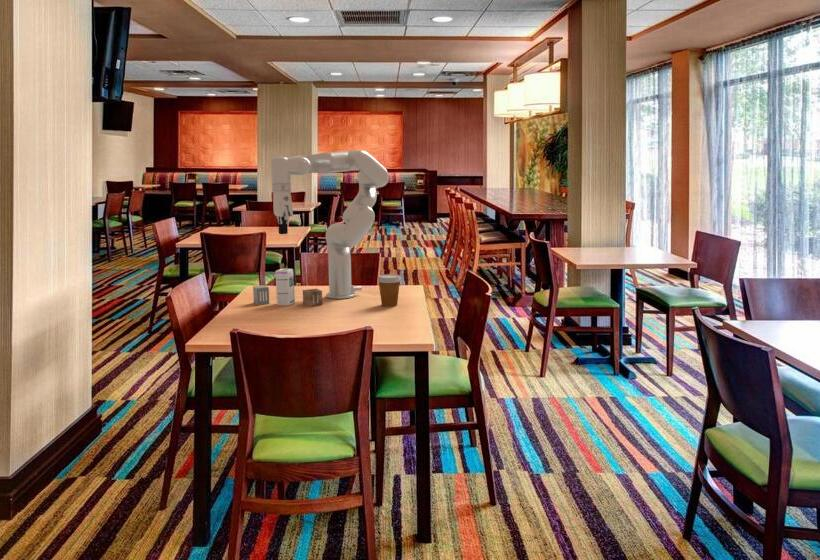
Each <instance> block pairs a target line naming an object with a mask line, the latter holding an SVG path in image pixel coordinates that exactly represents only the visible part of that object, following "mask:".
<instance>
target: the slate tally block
mask: <svg viewBox="0 0 820 560" xmlns="http://www.w3.org/2000/svg"><path fill="white" fill-rule="evenodd" d="M269 289H270V287H269V286H267V285H257V286H252V291H253V292H252V293H253V304H255V305H256V306H261V305H263V306H264V305H270V290H269Z"/></svg>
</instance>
